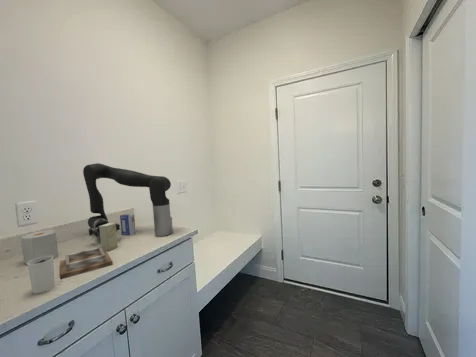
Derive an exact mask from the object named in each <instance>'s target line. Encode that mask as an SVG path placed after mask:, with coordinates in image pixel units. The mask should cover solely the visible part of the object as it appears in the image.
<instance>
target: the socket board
mask: <svg viewBox="0 0 476 357" xmlns="http://www.w3.org/2000/svg"><path fill="white" fill-rule="evenodd" d="M113 264H114V263H113V260H112V258H111V255H109V253H108V251H106V250H104V251H103V250H102V248H101V246H100V247H99V246H98V247H96V248H91V249H87V250H82V251H77V252H74V253H73V252H72V253H69V254H65V259H62V260H60V261H59V275H60V276H59V277H60V280H62V279H66V278H70V277H72V276H73V277H74V276H77V275H80V274H83V273H88V272H92V271H94V270H95V271H96V270H99V269H102V268H105V267H108V266H113Z"/></svg>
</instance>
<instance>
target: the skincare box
mask: <svg viewBox="0 0 476 357" xmlns="http://www.w3.org/2000/svg"><path fill="white" fill-rule="evenodd" d="M99 229H100V234H99V238H100V247H101V248H102V250H103V251H104V250H106V251H107V252H110V251H112V250H113V249H116V248H117V247H119V246H118V235H117V234H118V233H117V232H116V222H109V223H107V224H104V225H102V226H99Z"/></svg>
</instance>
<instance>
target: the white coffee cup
mask: <svg viewBox="0 0 476 357" xmlns="http://www.w3.org/2000/svg"><path fill="white" fill-rule="evenodd" d="M26 265H27V270H28V276H29V280H30V284H31V285H30V286H31V291H32V294H36V293H37V294H43V293H45V291H46V292H47V291H48V292H49V291H50V290H52V289H53V288H55V287H56V284H55V266H54V265H55V264H54V259H53V256H44V257H39V258H36V259H33V260H31V261H29V262H28V263H27V264H26Z"/></svg>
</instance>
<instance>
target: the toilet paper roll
mask: <svg viewBox="0 0 476 357" xmlns="http://www.w3.org/2000/svg"><path fill="white" fill-rule="evenodd" d="M58 247H59V246H58V238H57V233H56V230H55V229H54V230H53V229H52V230H41V231H36V232H32V233H27V234H24V235H23V236H21V251H22V257H23V261H24V262H23V263H24V264H25V265H27V263H28V262H29V261H31V260H33V259H36V258H39V257H44V256H53V260H54V259H56V258H57V257H58V256H59V252H58V251H59V248H58Z"/></svg>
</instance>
